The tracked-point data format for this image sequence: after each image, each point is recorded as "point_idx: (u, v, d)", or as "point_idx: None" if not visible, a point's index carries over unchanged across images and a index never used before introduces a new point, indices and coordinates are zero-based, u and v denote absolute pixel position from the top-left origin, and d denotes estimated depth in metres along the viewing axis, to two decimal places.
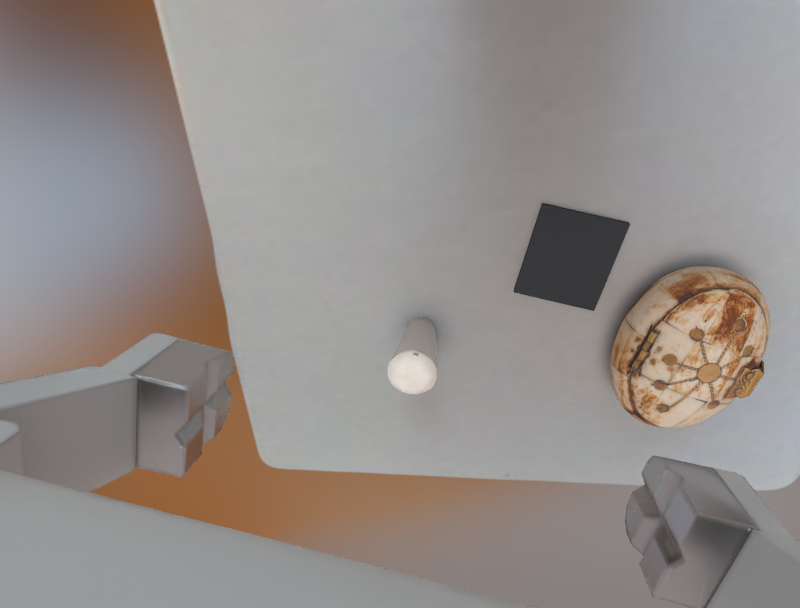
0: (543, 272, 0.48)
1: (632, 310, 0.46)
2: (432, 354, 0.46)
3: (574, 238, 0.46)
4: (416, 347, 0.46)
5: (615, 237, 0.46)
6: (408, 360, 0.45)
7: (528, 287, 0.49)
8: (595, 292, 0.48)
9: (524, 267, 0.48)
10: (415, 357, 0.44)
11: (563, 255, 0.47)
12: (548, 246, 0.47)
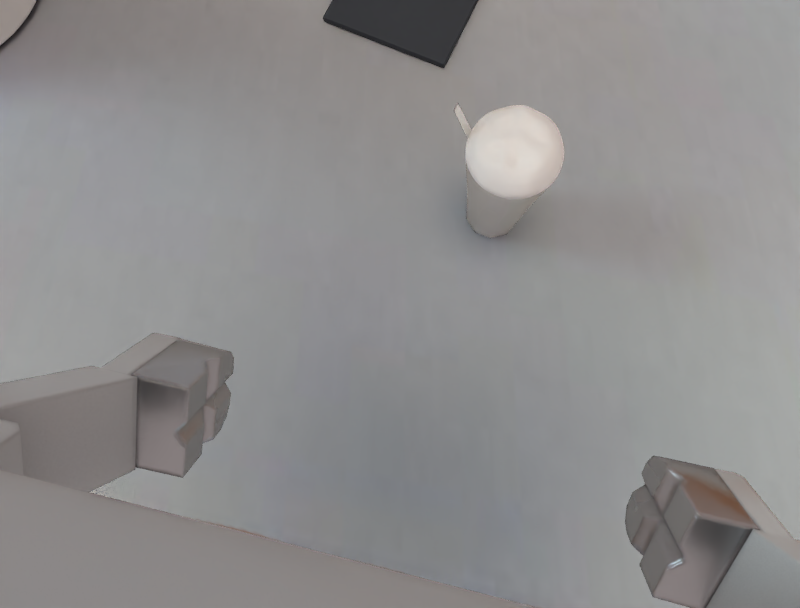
0: (420, 24, 0.33)
1: None
2: None
3: None
4: None
5: None
6: (479, 143, 0.23)
7: (439, 44, 0.33)
8: None
9: (407, 47, 0.33)
10: (476, 132, 0.23)
11: None
12: (383, 15, 0.34)
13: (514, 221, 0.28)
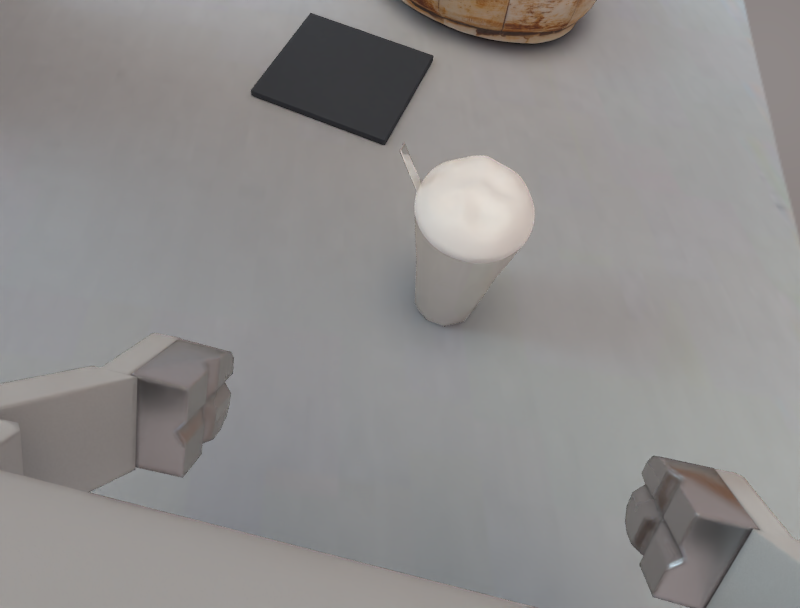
0: (358, 101, 0.31)
1: None
2: None
3: (314, 64, 0.32)
4: None
5: (325, 26, 0.33)
6: (431, 195, 0.18)
7: (379, 121, 0.30)
8: (403, 51, 0.33)
9: (344, 122, 0.30)
10: (426, 183, 0.19)
11: (336, 77, 0.32)
12: (317, 91, 0.31)
13: (474, 301, 0.23)
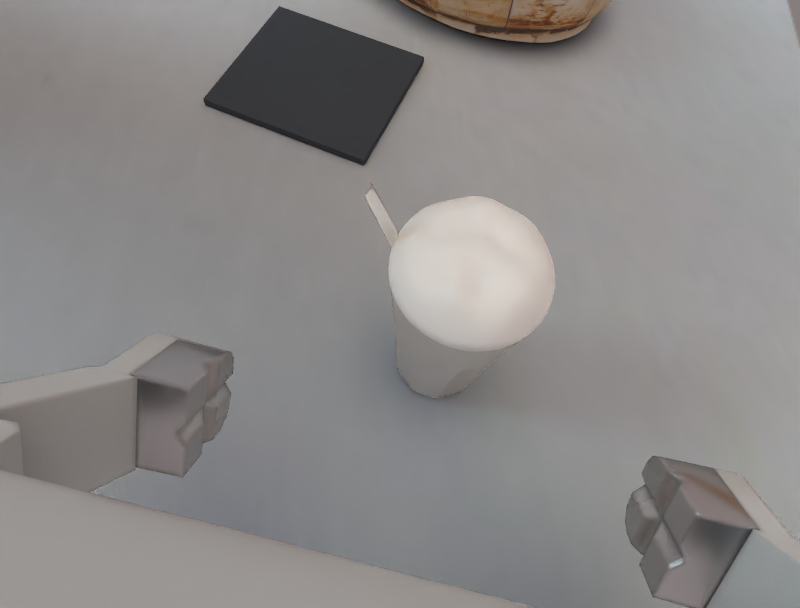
0: (333, 112, 0.26)
1: None
2: None
3: (281, 67, 0.27)
4: None
5: (296, 22, 0.28)
6: (411, 254, 0.13)
7: (358, 137, 0.25)
8: (388, 52, 0.28)
9: (315, 138, 0.25)
10: (405, 236, 0.13)
11: (307, 83, 0.26)
12: (284, 100, 0.26)
13: (471, 377, 0.17)
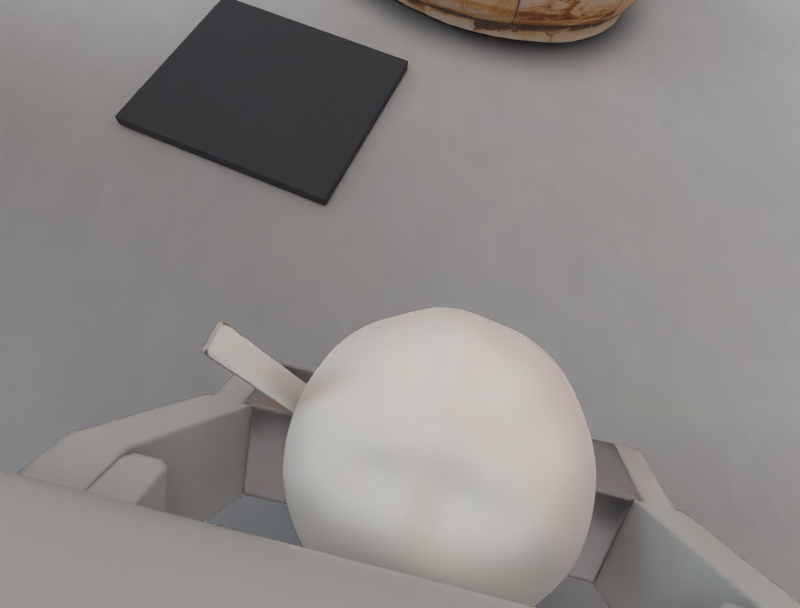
0: (286, 134, 0.19)
1: None
2: None
3: (221, 74, 0.21)
4: None
5: (244, 16, 0.22)
6: (317, 440, 0.07)
7: (317, 167, 0.19)
8: (362, 54, 0.21)
9: (261, 169, 0.19)
10: (313, 397, 0.07)
11: (255, 95, 0.20)
12: (222, 118, 0.20)
13: None
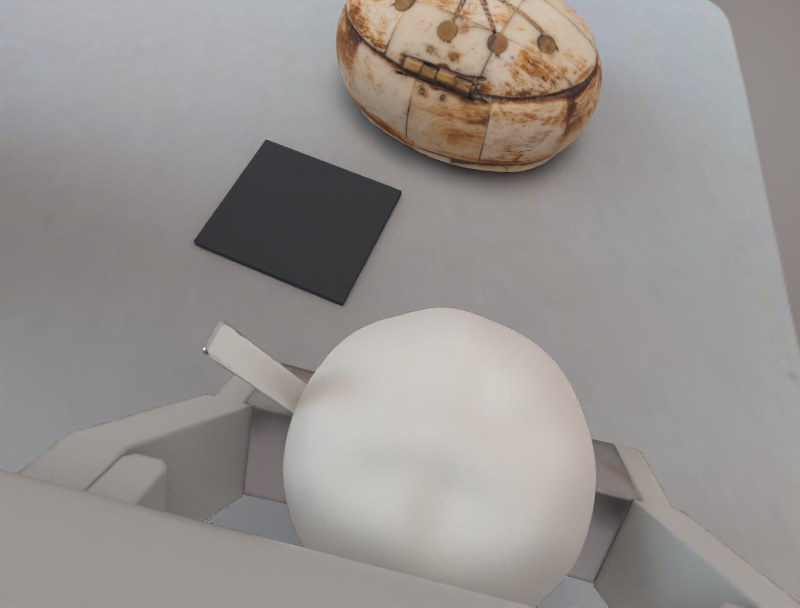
0: (314, 253, 0.27)
1: (391, 123, 0.29)
2: None
3: (266, 205, 0.28)
4: None
5: (281, 156, 0.30)
6: (317, 440, 0.07)
7: (337, 278, 0.27)
8: (367, 186, 0.29)
9: (297, 280, 0.27)
10: (313, 396, 0.07)
11: (291, 222, 0.28)
12: (269, 241, 0.28)
13: None
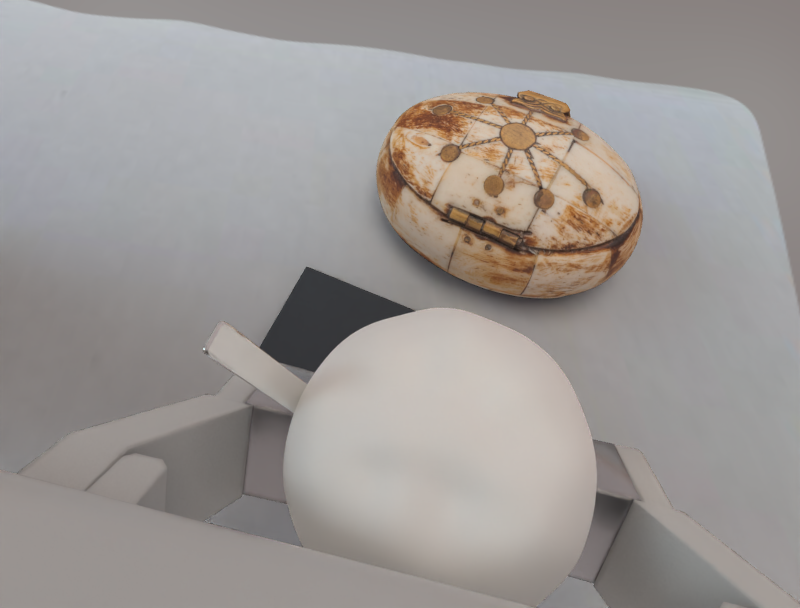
0: None
1: (432, 259, 0.29)
2: None
3: (310, 340, 0.29)
4: None
5: (322, 285, 0.30)
6: (318, 440, 0.07)
7: None
8: None
9: None
10: (313, 396, 0.07)
11: None
12: None
13: None
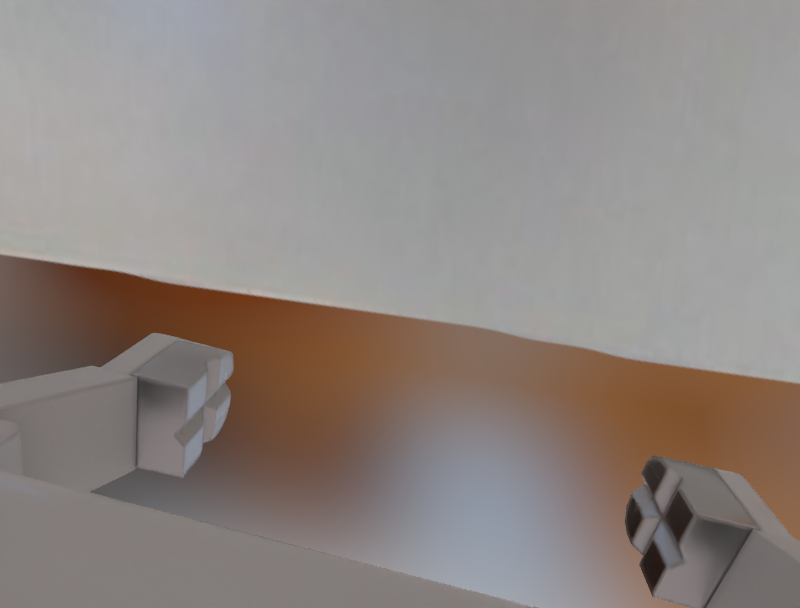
0: None
1: None
2: None
3: None
4: None
5: None
6: None
7: None
8: None
9: None
10: None
11: None
12: None
13: None
